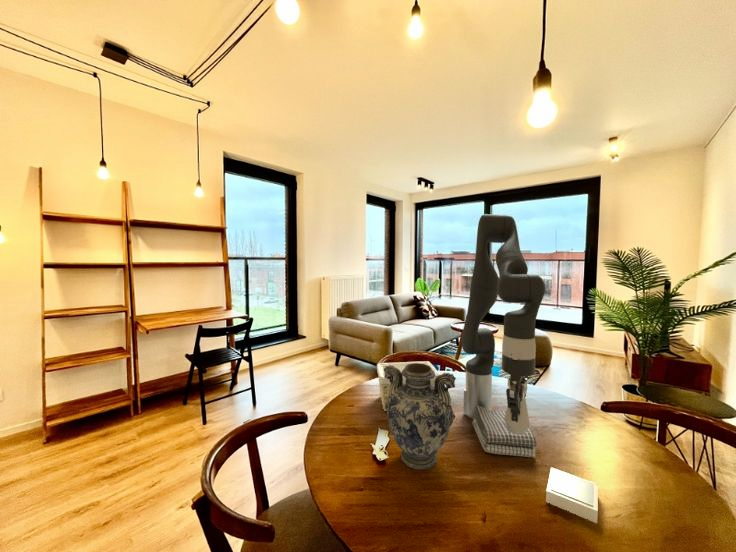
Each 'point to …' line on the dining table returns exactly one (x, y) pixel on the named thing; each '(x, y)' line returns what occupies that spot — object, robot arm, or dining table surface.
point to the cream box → (386, 383)
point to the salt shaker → (523, 419)
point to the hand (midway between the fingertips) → (516, 418)
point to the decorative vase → (419, 412)
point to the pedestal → (573, 494)
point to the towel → (501, 435)
